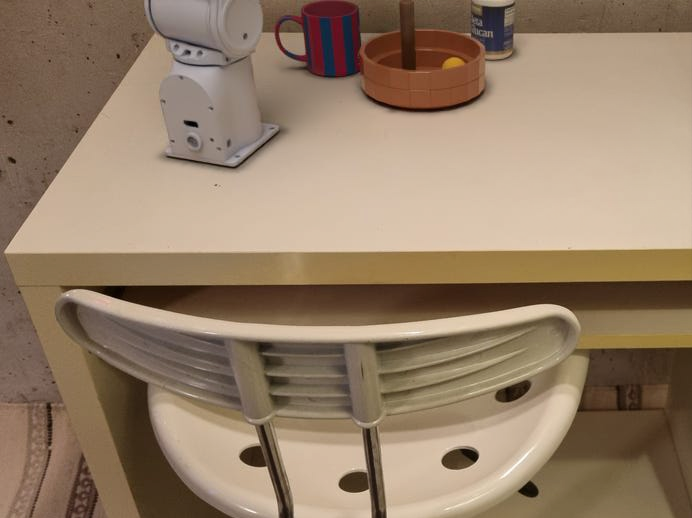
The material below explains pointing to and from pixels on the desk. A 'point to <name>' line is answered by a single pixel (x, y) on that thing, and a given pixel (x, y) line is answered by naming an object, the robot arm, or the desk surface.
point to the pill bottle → (493, 26)
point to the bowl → (423, 69)
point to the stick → (407, 34)
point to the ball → (452, 63)
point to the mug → (328, 37)
